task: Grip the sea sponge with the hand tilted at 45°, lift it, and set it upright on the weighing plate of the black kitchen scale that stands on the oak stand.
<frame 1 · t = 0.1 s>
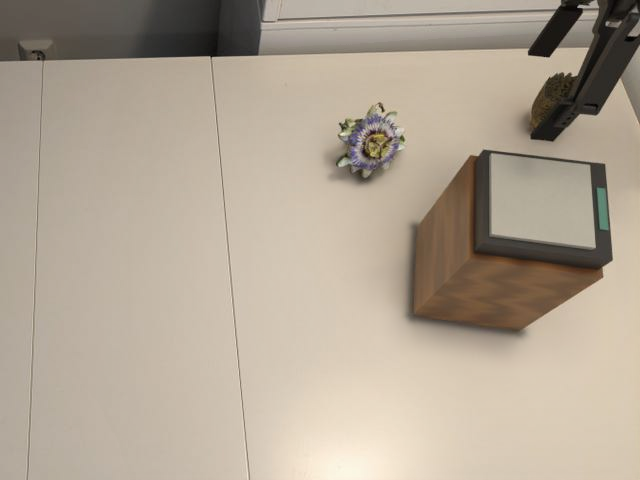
hand: (539, 95, 71), 23 cm above the table, tool pointing down, fingers open, 13 cm apart
kitchen scale: (534, 213, 71), resting on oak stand
sea sponge: (538, 125, 97), on the table
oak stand: (466, 277, 88), on the table
passion flower: (360, 156, 97), on the table
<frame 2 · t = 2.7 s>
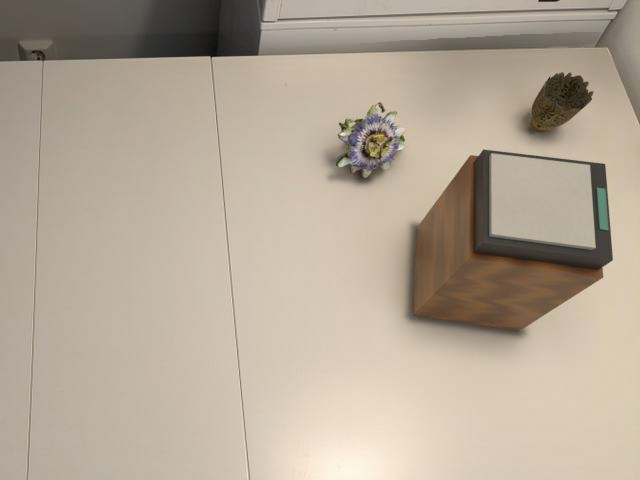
nothing on the table moved.
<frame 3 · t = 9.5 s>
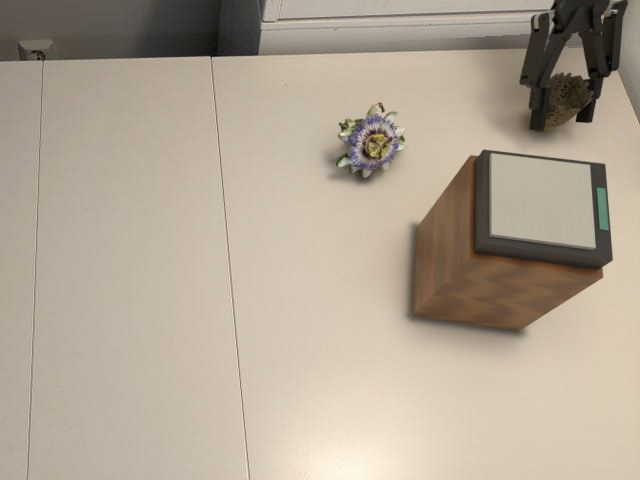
hand: (560, 126, 93), 4 cm above the table, tool tilted 45°, fingers closed on sea sponge, 7 cm apart
sea sponge: (538, 125, 97), on the table, touching gripper
everything else where it was.
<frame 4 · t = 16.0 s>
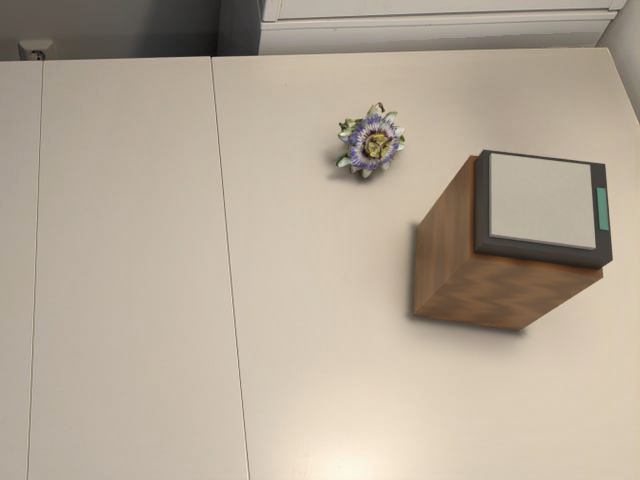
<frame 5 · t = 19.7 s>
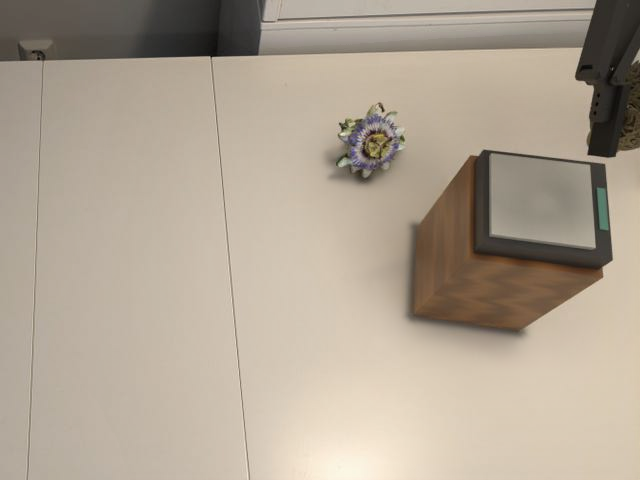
sea sponge: (599, 146, 61), point 30 cm above the table, touching gripper
everything else where it was.
when the fingers open (25 cm above the table, at t = 22.5 s): sea sponge stays where it is, resting on kitchen scale.
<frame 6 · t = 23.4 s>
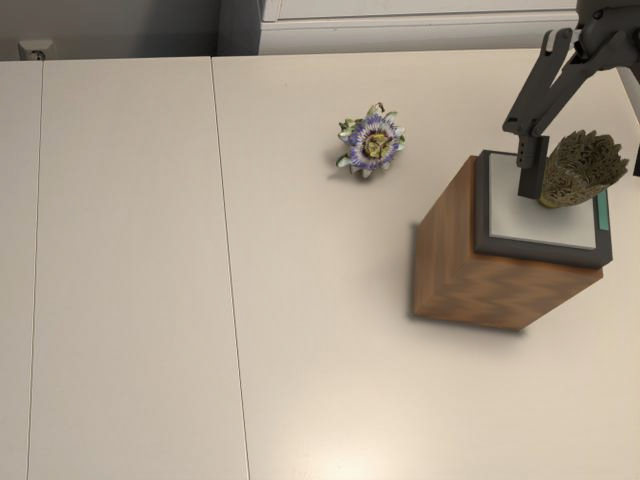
hand: (587, 187, 63), 26 cm above the table, tool tilted 45°, fingers open, 13 cm apart
sea sponge: (547, 199, 69), point 21 cm above the table, touching kitchen scale
everything else where it was.
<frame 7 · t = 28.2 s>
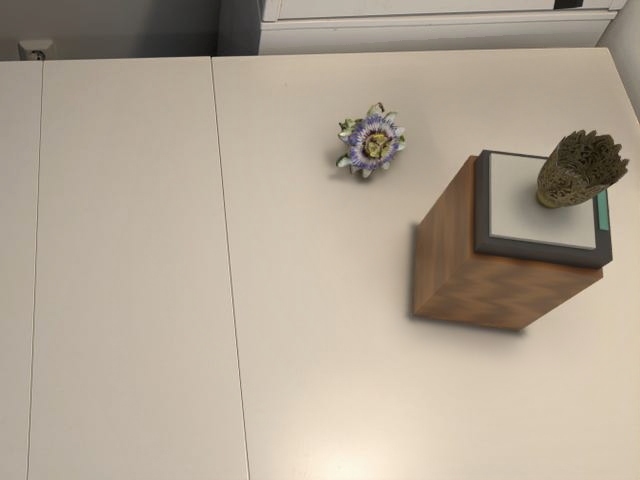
nothing on the table moved.
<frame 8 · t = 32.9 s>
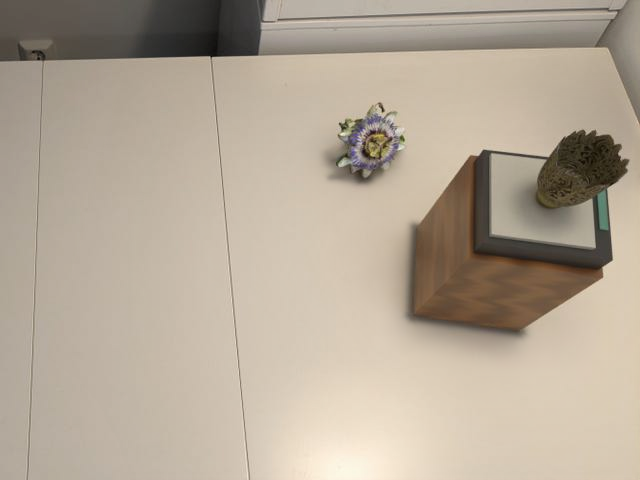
nothing on the table moved.
at the end: sea sponge inside the target area on the kitchen scale (0.5 cm from its centre), point 2.8 cm above the kitchen scale's base; sea sponge tilted 0°; the gripper is holding nothing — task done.
